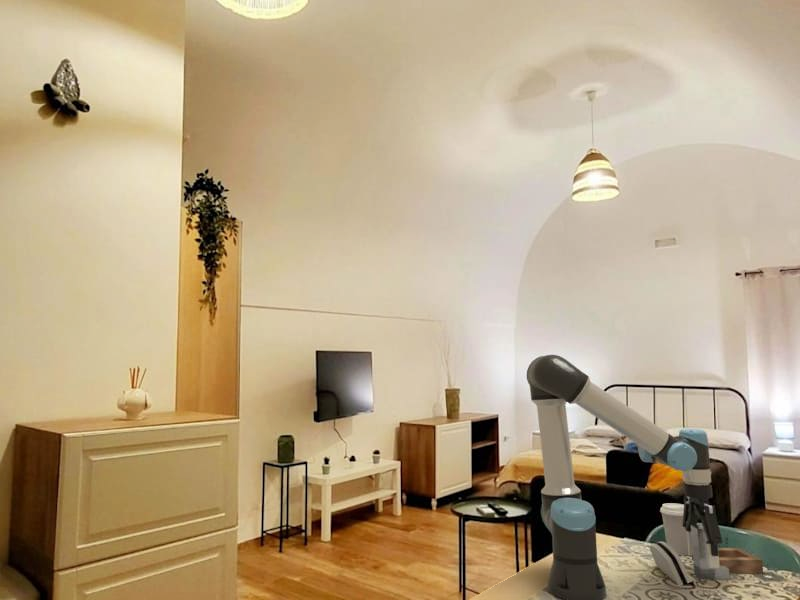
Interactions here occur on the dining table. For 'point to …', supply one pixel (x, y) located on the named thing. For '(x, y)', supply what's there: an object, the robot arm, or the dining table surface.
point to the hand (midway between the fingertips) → (703, 560)
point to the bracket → (704, 557)
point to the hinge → (670, 563)
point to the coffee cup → (675, 527)
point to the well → (739, 561)
